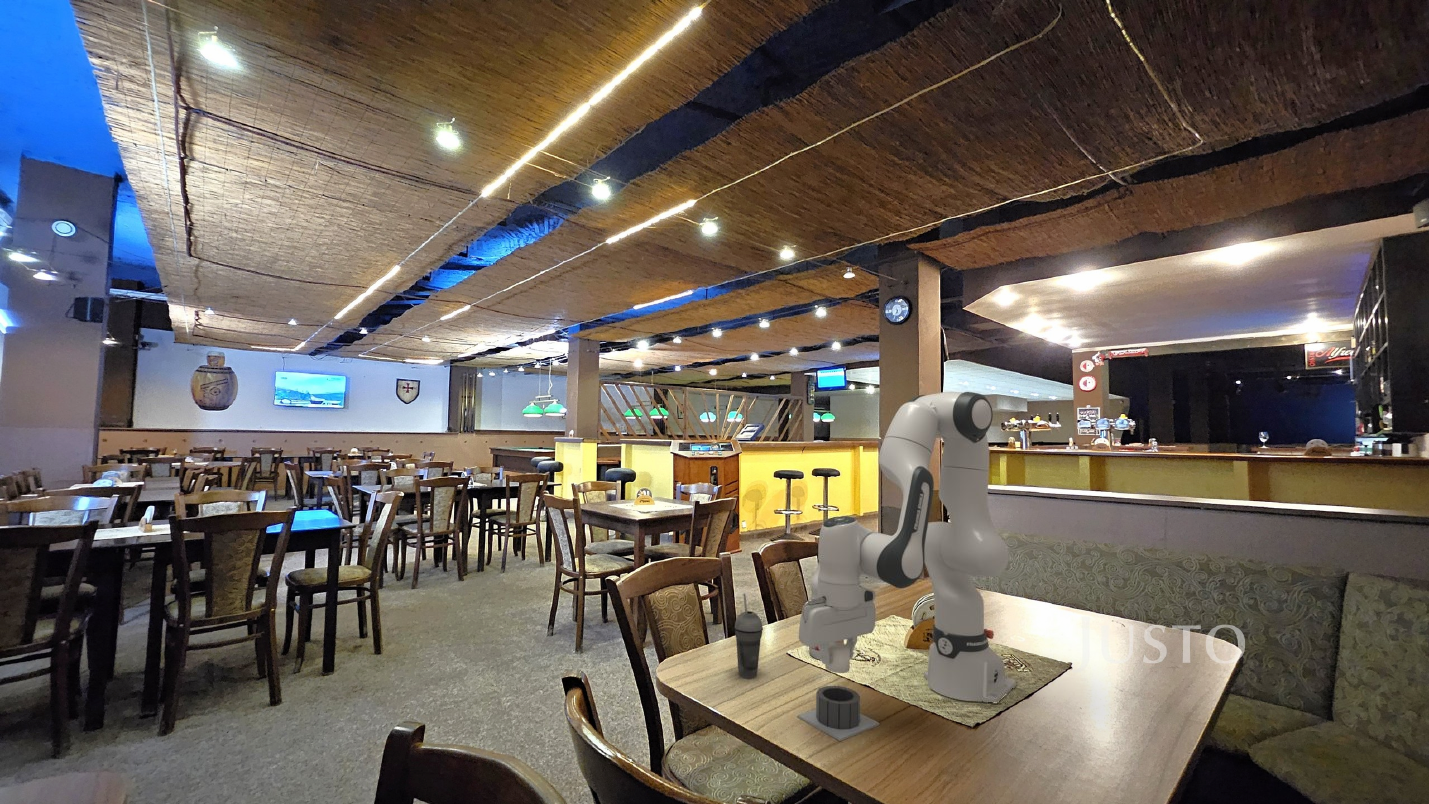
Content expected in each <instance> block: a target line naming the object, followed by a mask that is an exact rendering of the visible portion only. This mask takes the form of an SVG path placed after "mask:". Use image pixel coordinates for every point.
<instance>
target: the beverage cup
mask: <svg viewBox="0 0 1429 804" xmlns="http://www.w3.org/2000/svg"><path fill="white" fill-rule="evenodd" d="M743 601H744V603H743V604H744V605H743V606H744V611H743V612H741V613H740V614H739V615H738V616H737V617H736V620H735V622H734V628H733V629H734V633H735V635H734V636H735V638H736V639H735V640H736V641H735V642H736V653H737V658H736V659H737V669H738V677H740V678H741V679H746V680H752V678H753V679H755V677H756V676H758V668H759V659H760V650H761V649H760V648H761V639H762V634H763V631H764V628H763V622H762V619H761V617H760V616H759V615H758V614H757V613H755V612H753V611H750V610H748V606H747V595H746V593H743ZM756 678H757V677H756Z"/></svg>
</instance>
